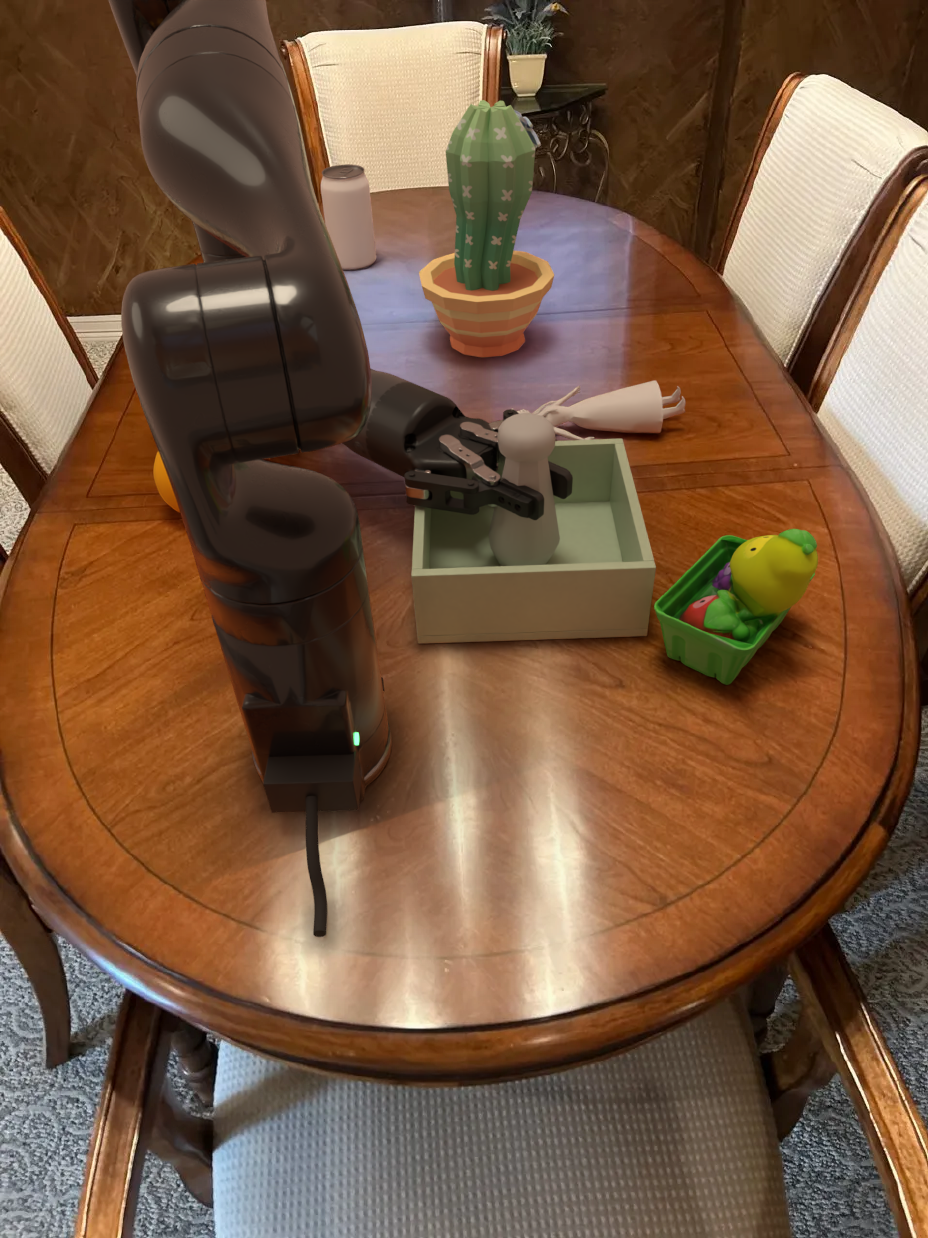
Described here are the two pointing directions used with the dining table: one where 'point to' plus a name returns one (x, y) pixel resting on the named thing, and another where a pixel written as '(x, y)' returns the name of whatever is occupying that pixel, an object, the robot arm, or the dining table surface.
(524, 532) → the salt shaker
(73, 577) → the dining table surface
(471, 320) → the potted cactus
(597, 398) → the woman figurine
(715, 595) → the fruit basket
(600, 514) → the bin
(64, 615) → the dining table surface
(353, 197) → the can
